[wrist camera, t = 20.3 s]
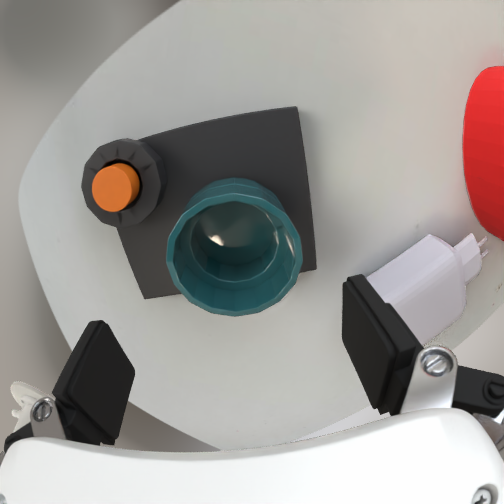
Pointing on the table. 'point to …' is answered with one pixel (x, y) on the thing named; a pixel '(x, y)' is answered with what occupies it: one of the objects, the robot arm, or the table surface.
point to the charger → (430, 283)
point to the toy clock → (486, 149)
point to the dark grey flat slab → (202, 182)
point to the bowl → (234, 248)
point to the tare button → (115, 187)
